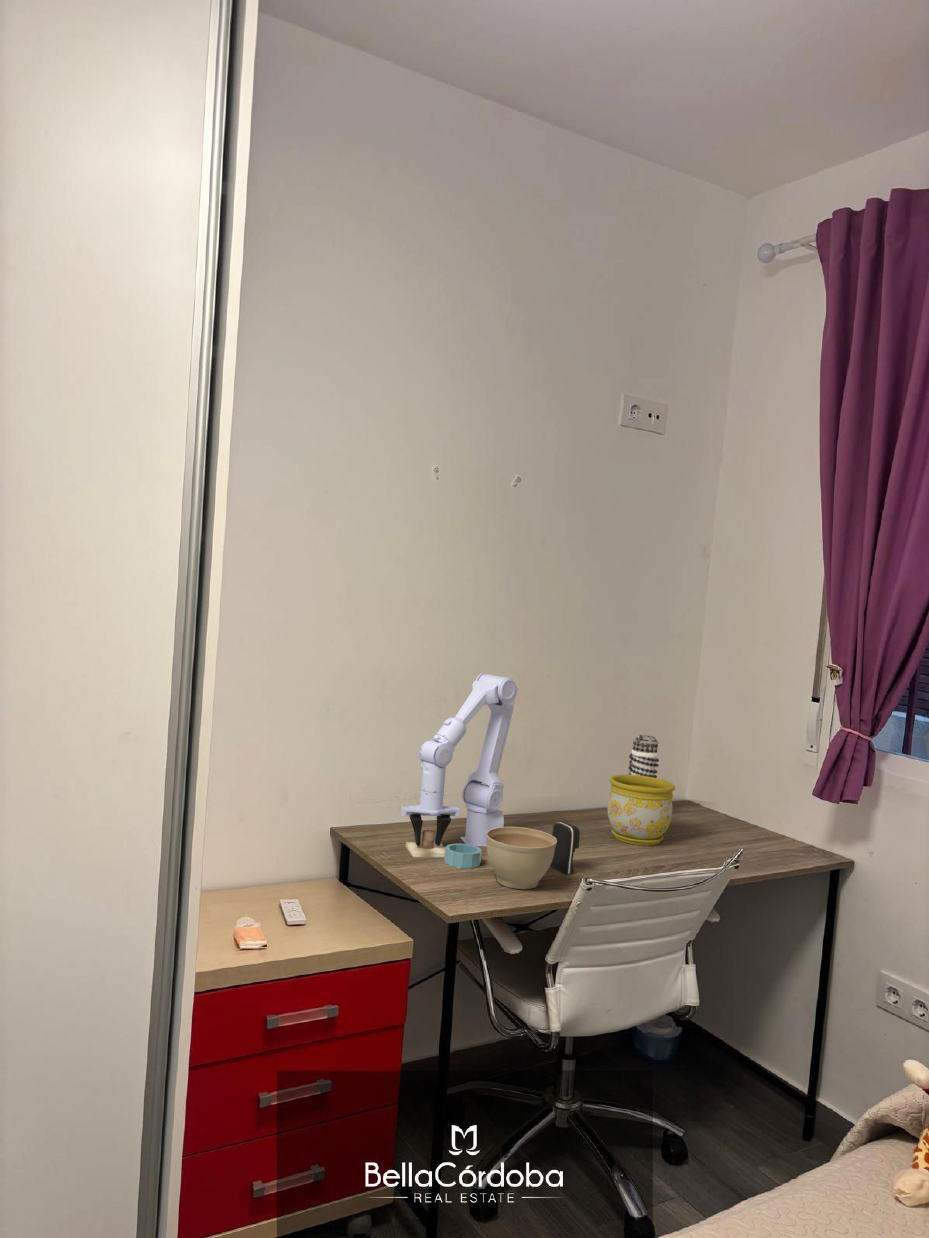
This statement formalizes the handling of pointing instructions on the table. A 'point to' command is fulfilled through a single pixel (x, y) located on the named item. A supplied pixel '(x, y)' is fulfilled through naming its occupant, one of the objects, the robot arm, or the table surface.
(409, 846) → the lid
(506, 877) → the planter bowl
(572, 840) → the battery charger
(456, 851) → the bowl
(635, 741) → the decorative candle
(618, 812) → the flowerpot
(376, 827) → the table surface
